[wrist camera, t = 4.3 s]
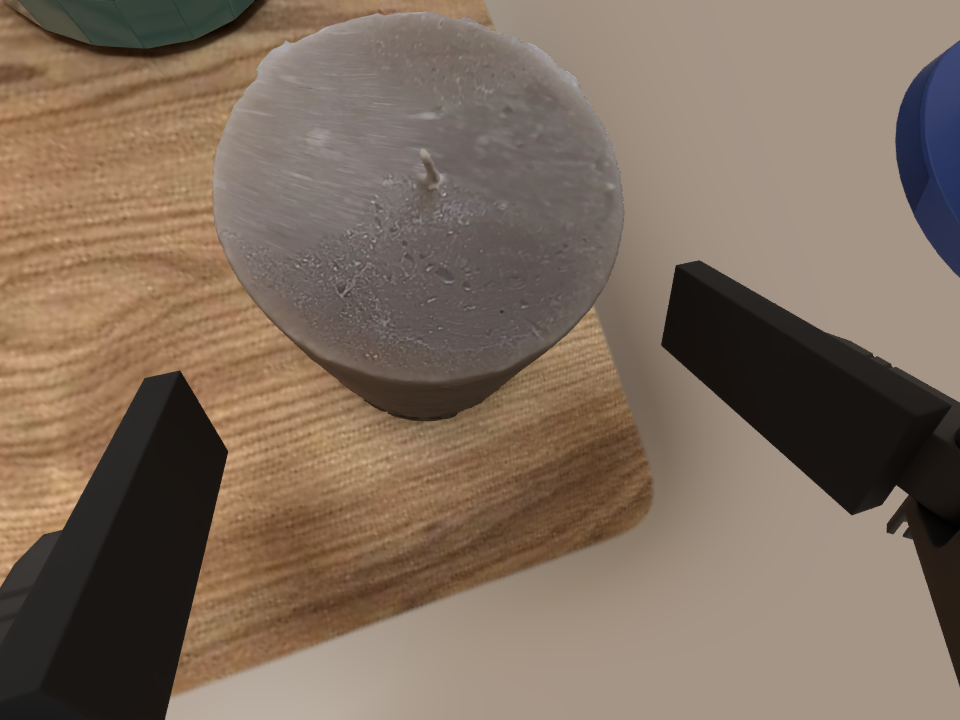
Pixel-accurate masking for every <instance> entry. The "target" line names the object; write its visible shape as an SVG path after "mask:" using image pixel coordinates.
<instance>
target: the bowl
mask: <svg viewBox="0 0 960 720" xmlns="http://www.w3.org/2000/svg"><path fill="white" fill-rule="evenodd" d="M3 1H4V2H5V3H6V4H8V5H9V6H11V7H12V8H14V9H15V10H17V11H18V12H20V13H21V14H23V15H24V16H26V17H27V18H29V19H30V20H32V21H33V22H35V23H36V24H37V25H39V26H40V27H42V28H44V29H46V30H48V31H51V32H54V33H57V34H60V35H63V36H66V37H69V38H72V39H75V40H78V41H81V42H85V43H88V44H91V45H95V46H109V47H125V48H140V49H145V48H146V49H149V48H154V47H159V46H164V45H170V44H175V43H180V42H186V41H191V40H194V39H197V38H199V37H201V36H203V35H205V34H207V33H209V32H211V31H213V30H215V29H217V28H219V27H221V26H223V25H225V24H227V23H229V22H231V21H234V19H236V18H237V17H238V16H239V15H240V14H241V13H242V12H243V11H244V10H246V9H247V8H248V7H249V6H250V5H251V4H252V3H253V2H254V1H255V0H3Z"/></svg>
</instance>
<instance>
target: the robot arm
mask: <svg viewBox="0 0 960 720" xmlns="http://www.w3.org/2000/svg"><path fill="white" fill-rule="evenodd" d="M661 345H662V347H664V348H665V349H666V350H667V351H668V352H669V353H671V355H673V356H674V357H675V358H676V359H677V360H678V361H679V362H681V363H682V364H683V365H684V366H685V367H686V368H687V369H688V370H689V371H690V372H692V373H693V374H694V375H695V376H696V377H697V378H698V379H699V380H701V381H702V382H703V383H704V384H705V385H706V386H707V387H708V388H710V389H711V390H712V391H713V392H714V393H715V394H716V395H717V396H718V397H720V398H721V399H722V400H723V401H724V402H725V403H726V404H728V405H729V406H730V407H731V408H732V409H733V410H734V411H735V412H736V413H738V414H739V415H740V416H741V417H742V418H743V419H744V420H746V421H747V422H748V423H749V424H750V425H751V426H752V427H753V428H754V429H755V430H757V431H758V432H759V433H760V434H761V435H762V436H763V437H765V438H766V439H767V440H768V441H769V442H770V443H771V444H772V445H773V446H775V447H776V448H777V449H778V450H779V451H780V452H781V453H783V454H784V455H785V456H786V457H787V458H788V459H789V460H790V461H791V462H792V463H794V464H795V465H796V466H797V467H798V468H799V469H800V470H802V471H803V472H804V473H805V474H806V475H807V476H808V477H809V478H810V479H812V480H813V481H814V482H815V483H816V484H817V485H818V486H819V487H821V488H822V489H823V490H824V491H825V492H826V493H827V494H828V495H829V496H831V497H832V498H833V499H834V500H835V501H836V502H837V503H838V504H840V505H841V506H842V507H843V508H844V509H845V510H846V511H847V512H848V513H850V514H851V515H854V514H857V513H860V512H863V511H866V510H869V509H872V508H874V507H877V506H880V505H882V504H883V503H884V501H885V500H886V499H887V497H888V496H889V494H890V493H891V491H892V490H893V489H894V487H895V486H896V485H897V486H898V487H900V488H901V489H902V490H903V491H905V492H906V493H907V494H909V495H908V497H907V498H906V499H905V501H904V502H903V503H902V505H901V506H900V507H899V509H898V510H897V511H896V513H895V514H894V515H893V517H892V518H891V519H890V521H889V522H888V523H887V533H891V534H894V533H895V532H896V530H897V529H898V528H899V526H900V525H901V524H902V523H903V522H908V525H909V527H908V528H907V530H906V531H905V533H904V534H903V537H905V538H910V539H913V541H914V544H915V547H916V551H917V554H918V557H919V560H920V563H921V566H922V569H923V573H924V576H925V579H926V582H927V585H928V588H929V591H930V595H931V598H932V601H933V604H934V607H935V610H936V613H937V617H938V620H939V623H940V626H941V629H942V632H943V635H944V639H945V642H946V645H947V648H948V651H949V654H950V657H951V660H952V663H953V667H954V670H955V673H956V676H957V679H958V682H959V686H960V402H958V401H956V400H954V399H952V398H950V397H949V396H947V395H945V394H943V393H941V392H940V391H938V390H936V389H935V388H933V387H931V386H929V385H928V384H926V383H924V382H922V381H920V380H919V379H917V378H915V377H913V376H911V375H910V374H908V373H906V372H904V371H903V370H901V369H899V368H897V367H894V368H893V367H892V366H891V364H890V363H888V362H887V361H885V360H883V359H881V358H880V357H874V356H873V354H872V353H871V352H869V351H867V350H865V349H863V348H862V347H860V346H858V345H857V344H854V343H853V342H851V341H848V340H846V339H843V338H840V337H837V336H834V335H831V334H828V333H825V332H823V331H822V330H820V329H818V328H816V327H814V326H813V325H811V324H809V323H808V322H806V321H804V320H802V319H801V318H799V317H797V316H795V315H794V314H792V313H790V312H789V311H787V310H785V309H783V308H782V307H780V306H778V305H776V304H775V303H773V302H771V301H769V300H768V299H766V298H764V297H762V296H761V295H759V294H757V293H755V292H754V291H752V290H750V289H749V288H747V287H745V286H743V285H741V284H740V283H738V282H736V281H735V280H733V279H731V278H729V277H728V276H726V275H724V274H722V273H721V272H719V271H717V270H715V269H714V268H712V267H710V266H708V265H707V264H705V263H703V262H702V261H694V262H689V263H685V264H680V265H676V268H675V273H674V278H673V284H672V290H671V295H670V300H669V305H668V311H667V316H666V322H665V327H664V332H663V338H662V343H661ZM227 455H228V450H227V448H226V447H225V445H224V443H223V442H222V440H221V438H220V437H219V435H218V433H217V432H216V430H215V428H214V427H213V425H212V423H211V422H210V420H209V418H208V417H207V415H206V413H205V411H204V410H203V408H202V406H201V405H200V403H199V401H198V400H197V398H196V396H195V395H194V393H193V391H192V390H191V388H190V386H189V385H188V383H187V381H186V379H185V378H184V376H183V374H182V373H181V371H176V372H171V373H167V374H162V375H157V376H153V377H148V378H144V380H143V382H142V384H141V386H140V388H139V390H138V391H137V393H136V395H135V397H134V399H133V401H132V403H131V404H130V406H129V408H128V410H127V412H126V414H125V416H124V417H123V419H122V421H121V423H120V425H119V427H118V428H117V430H116V432H115V434H114V436H113V438H112V440H111V441H110V443H109V445H108V447H107V449H106V451H105V453H104V454H103V456H102V458H101V460H100V462H99V464H98V466H97V467H96V469H95V471H94V473H93V475H92V477H91V478H90V480H89V482H88V484H87V486H86V488H85V490H84V491H83V493H82V495H81V497H80V499H79V501H78V503H77V504H76V506H75V508H74V510H73V512H72V514H71V516H70V517H69V519H68V521H67V523H66V525H65V527H64V528H63V530H60V531H56V532H52V533H48V534H44V535H43V536H42V537H41V538H40V539H39V540H38V541H37V542H36V543H35V544H34V545H33V546H32V547H31V548H30V549H29V550H28V551H27V552H26V553H25V554H24V555H23V556H22V557H21V558H20V559H19V560H18V561H17V562H16V563H15V564H14V566H13V568H12V569H11V571H10V573H9V574H8V576H7V578H6V579H5V581H4V583H3V584H2V586H1V588H0V720H165V716H166V712H167V708H168V704H169V700H170V695H171V691H172V687H173V683H174V678H175V674H176V670H177V666H178V662H179V657H180V653H181V649H182V645H183V640H184V636H185V632H186V628H187V624H188V619H189V615H190V611H191V607H192V603H193V598H194V594H195V590H196V586H197V581H198V577H199V573H200V569H201V565H202V560H203V556H204V552H205V548H206V543H207V539H208V535H209V531H210V527H211V522H212V518H213V514H214V510H215V505H216V501H217V497H218V493H219V489H220V484H221V480H222V476H223V472H224V467H225V463H226V459H227Z"/></svg>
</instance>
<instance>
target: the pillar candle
mask: <svg viewBox="0 0 960 720" xmlns="http://www.w3.org/2000/svg"><path fill="white" fill-rule="evenodd" d="M256 72H257V73H258V76H257V78H256V80H255V81H254V82H253V83H251V84H250V86H249V87H248V88H246V89H245V92H244V94H243V96H242V98H241V99H240V100H239V101H238V102H237V103H236V104H235V105H234V108H233V109H232V113H231V116H230V118H229V119H228V121H227V123H226V126H225V128H224V132H223V134H222V137H221V140H220V143H219V146H218V148H217V150H216V155H215V161H214V170H213V182H212V186H213V211H214V220H215V226H216V231H217V234H218V238H219V240H220V243H221V245H222V248H223V250H224V252H225V254H226V257H227V259H228V262H229V264H230V265H231V268H232V270H233V271H234V273H235V275H236V276H237V278H238V280H239V282H240V283H241V284H242V286H243V287H244V289H245V290H246V292H247V293H248V294H249V296H250V297H251V298H252V300H253V301H254V302H255V303H256V304H257V306H258V307H259V308H260V309H261V310H262V311H263V312H264V314H265V315H266V316H267V317H268V318H269V319H270V320H271V321H272V322H273V323H274V324H275V325H276V326H277V327H278V328H279V329H280V330H281V331H282V332H283V333H284V334H285V335H286V336H287V337H288V338H289V339H291V340H292V341H293V342H294V343H295V344H296V345H297V346H298V347H299V348H300V349H301V350H302V351H303V352H304V353H306V354H307V355H308V356H309V358H311V359H312V360H313V361H314V362H316V363H318V364H319V365H320V366H322V367H323V368H324V369H325V370H326V371H327V372H329V373H330V374H331V375H333V376H334V377H335V378H337V379H338V380H339V381H340V382H341V383H342V384H343V385H345V386H346V387H347V388H349V389H350V390H351V391H353V392H354V393H356V394H358V395H359V396H360V397H362V398H363V399H364V401H366V402H368V403H369V404H371V405H372V406H374V407H375V408H377V409H379V410H381V411H384V412H386V411H387V412H388V414H391V415H392V416H395V417H398V418H403V419H408V420H415V421H436V420H442V419H448V418H451V417H454V416H456V415H457V413H458V412H460V411H463V410H464V409H467V408H471V407H473V406H474V405H477V404H478V403H481V402H482V401H483V400H485V399H486V398H487V397H489V396H490V395H491V394H492V393H493V392H495V391H496V390H498V389H499V388H500V387H501V386H502V385H504V384H505V383H506V382H508V381H509V380H510V379H511V378H512V377H514V376H515V375H516V374H517V373H518V372H520V371H521V370H522V369H524V368H525V367H526V366H528V365H529V364H530V363H532V362H533V361H535V360H536V359H538V358H539V357H540V356H541V355H543V354H544V353H545V352H547V351H548V350H549V349H550V348H551V347H553V346H554V345H555V344H556V343H557V342H558V341H560V340H561V339H562V338H563V337H565V336H566V335H567V334H568V333H569V332H570V331H571V330H572V329H573V328H574V327H575V326H576V325H577V323H578V322H579V321H580V320H581V319H582V318H583V317H584V316H585V314H586V313H587V312H588V311H589V310H590V309H591V308H592V306H593V304H594V303H595V301H596V299H597V298H598V296H599V295H600V293H601V292H602V290H603V288H604V287H605V285H606V283H607V281H608V279H609V277H610V275H611V272H612V269H613V267H614V264H615V261H616V257H617V255H618V249H619V245H620V241H621V233H622V230H623V222H624V204H623V195H622V185H621V177H620V171H619V168H618V163H617V161H616V158H615V154H614V151H613V148H612V143H611V141H610V140H609V137H608V134H607V133H606V130H605V127H604V125H603V124H602V122H601V121H600V119H599V118H598V117H597V115H596V113H595V111H594V109H593V108H592V106H591V105H590V104H589V103H588V101H587V99H586V98H585V96H584V95H583V93H582V92H581V87H580V85H579V84H578V81H577V79H576V78H575V77H574V76H573V75H572V74H570V73H568V72H567V71H566V70H564V69H560V68H558V67H557V66H556V64H555V61H554V60H553V59H552V58H551V57H550V56H549V55H548V54H546V53H545V52H543V51H542V50H540V49H539V48H538V47H536V46H534V45H533V44H531V43H523V42H521V41H520V39H519V38H518V37H517V36H513V37H509V36H506V35H504V34H501V33H498V32H495V31H493V30H491V29H488V28H487V27H485V26H483V25H480V24H478V23H477V22H476V21H474V20H473V19H468V18H467V17H465V16H463V17H462V18H461V19H452V18H449V17H446V16H444V15H441V14H439V13H436V12H431V11H423V12H420V13H416V12H413V13H397V14H391V15H387V16H384V15H382V14H379V13H376V14H373V15H370V16H364V17H361V18H358V19H350V20H348V21H347V22H343V23H339V24H334V25H331V26H329V27H325V28H323V29H322V30H320V31H318V32H317V33H315V34H312V35H310V36H306V37H304V38H303V39H301V40H299V41H298V42H296V43H290V42H288V41H285V43H284V44H283V45H281V46H280V47H277V48H274V49H272V50H271V51H270V53H269V54H268V55H267V56H266V57H264V58H263V60H262V62H261V63H260V64H259V66H258V68H257V70H256Z"/></svg>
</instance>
